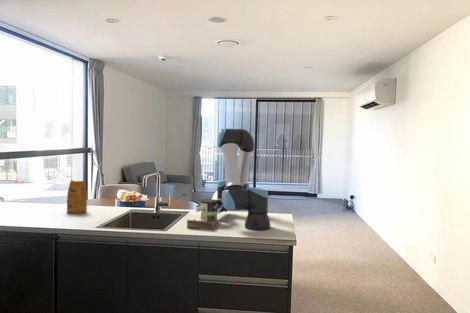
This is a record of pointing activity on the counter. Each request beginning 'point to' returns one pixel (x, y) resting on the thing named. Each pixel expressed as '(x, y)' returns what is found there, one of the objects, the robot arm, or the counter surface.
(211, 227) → the brown wooden tray
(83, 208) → the coffee package
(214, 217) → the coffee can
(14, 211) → the counter surface
